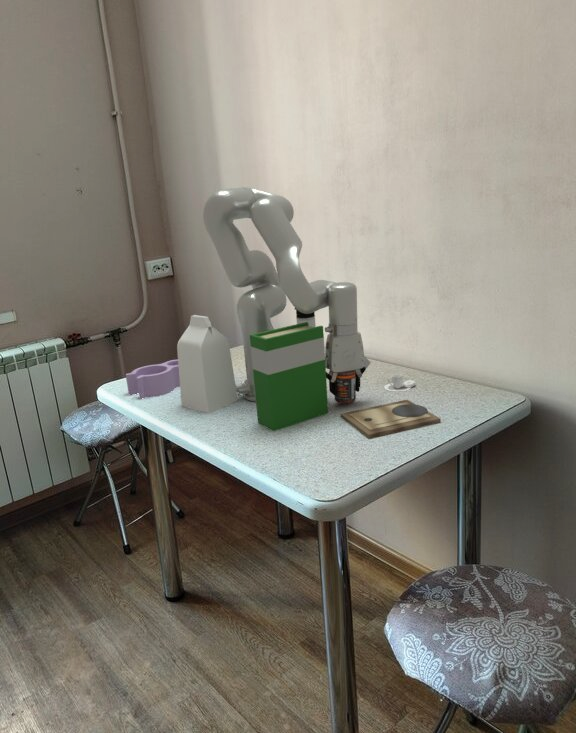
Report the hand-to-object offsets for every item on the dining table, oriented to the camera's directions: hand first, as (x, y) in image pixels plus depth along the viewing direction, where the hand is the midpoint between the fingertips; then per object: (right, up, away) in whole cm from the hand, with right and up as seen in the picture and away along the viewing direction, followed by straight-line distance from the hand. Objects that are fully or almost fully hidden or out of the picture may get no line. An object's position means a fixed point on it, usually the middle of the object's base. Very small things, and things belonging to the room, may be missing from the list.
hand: (345, 391), depth 170 cm
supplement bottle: (0, -3, +1) cm, 3 cm away
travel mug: (-9, +8, +40) cm, 42 cm away
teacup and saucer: (+18, 0, +8) cm, 20 cm away
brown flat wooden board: (+10, -7, -13) cm, 17 cm away
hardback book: (-14, -7, -6) cm, 17 cm away
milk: (-39, -4, +10) cm, 40 cm away
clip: (-56, 0, +27) cm, 63 cm away
